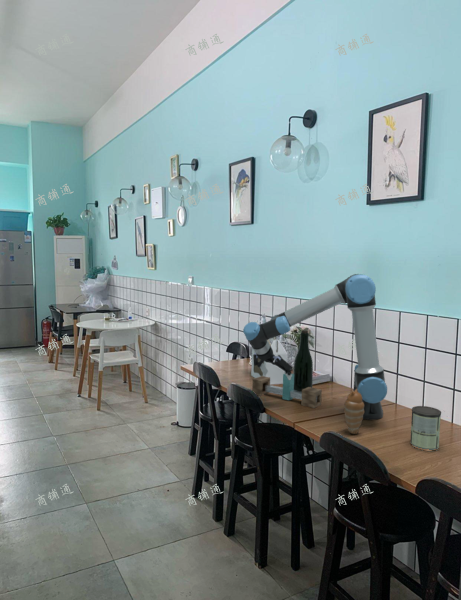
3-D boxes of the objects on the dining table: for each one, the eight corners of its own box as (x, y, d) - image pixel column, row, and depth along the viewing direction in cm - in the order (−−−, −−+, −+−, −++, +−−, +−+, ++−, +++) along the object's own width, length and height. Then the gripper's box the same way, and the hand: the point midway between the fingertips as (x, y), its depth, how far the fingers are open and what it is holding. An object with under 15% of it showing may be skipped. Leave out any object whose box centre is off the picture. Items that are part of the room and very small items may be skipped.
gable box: (250, 375, 279) (252, 329, 276) (271, 374, 283) (272, 329, 281) (265, 385, 258) (267, 335, 256) (286, 383, 262) (288, 334, 260)
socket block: (269, 392, 244) (270, 377, 243) (260, 396, 236) (260, 380, 236) (261, 390, 247) (262, 375, 246) (252, 394, 239) (252, 379, 239)
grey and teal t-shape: (317, 404, 224) (318, 378, 223) (314, 406, 221) (315, 380, 220) (268, 393, 241) (269, 369, 240) (264, 394, 238) (265, 370, 237)
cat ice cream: (347, 428, 193) (349, 386, 192) (366, 432, 189) (368, 389, 187) (339, 434, 186) (341, 390, 185) (358, 439, 182) (360, 394, 180)
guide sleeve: (321, 404, 225) (321, 389, 224) (314, 408, 219) (315, 392, 219) (308, 401, 229) (308, 386, 228) (301, 405, 223) (301, 389, 223)
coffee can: (405, 440, 182) (407, 405, 181) (431, 440, 182) (433, 405, 181) (416, 451, 172) (419, 414, 170) (444, 451, 172) (446, 414, 171)
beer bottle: (311, 389, 252) (313, 329, 249) (312, 394, 241) (315, 332, 239) (292, 388, 253) (294, 328, 250) (292, 393, 242) (295, 331, 240)
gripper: (236, 351, 216) (253, 377, 229) (283, 359, 201) (298, 386, 214) (243, 339, 220) (259, 365, 233) (289, 346, 205) (304, 373, 218)
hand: (278, 375), depth 224 cm, fingers open, 13 cm apart
